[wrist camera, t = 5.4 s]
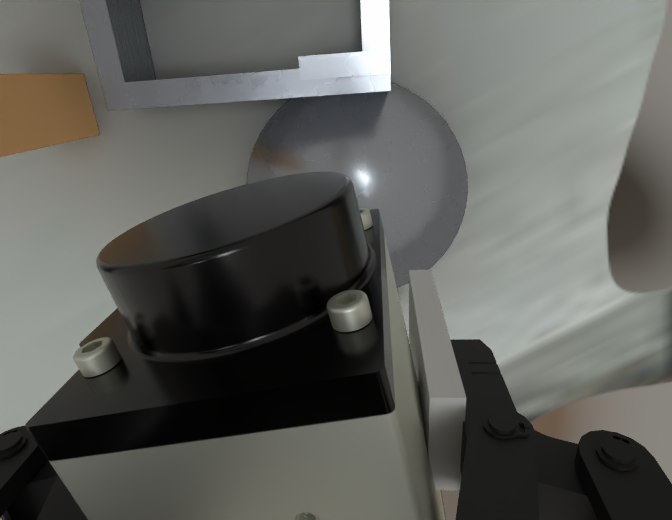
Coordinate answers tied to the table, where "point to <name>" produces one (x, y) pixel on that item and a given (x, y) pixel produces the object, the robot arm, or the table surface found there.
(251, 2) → the table surface
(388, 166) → the grey disc
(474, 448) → the robot arm
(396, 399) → the pneumatic valve
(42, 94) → the tan rectangular block
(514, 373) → the table surface
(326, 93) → the grey rectangular frame
